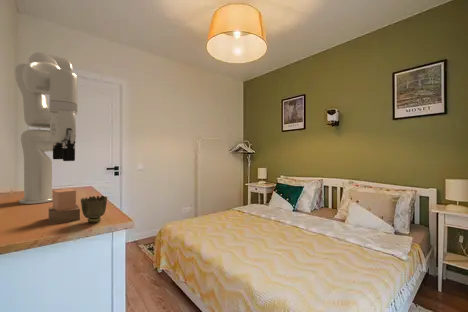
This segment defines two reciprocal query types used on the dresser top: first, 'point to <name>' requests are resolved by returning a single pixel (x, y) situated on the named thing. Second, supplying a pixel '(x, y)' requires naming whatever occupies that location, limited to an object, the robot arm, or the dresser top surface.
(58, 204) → the terracotta block
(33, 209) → the dresser top surface
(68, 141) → the robot arm
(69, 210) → the walnut block
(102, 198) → the cup
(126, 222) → the dresser top surface
